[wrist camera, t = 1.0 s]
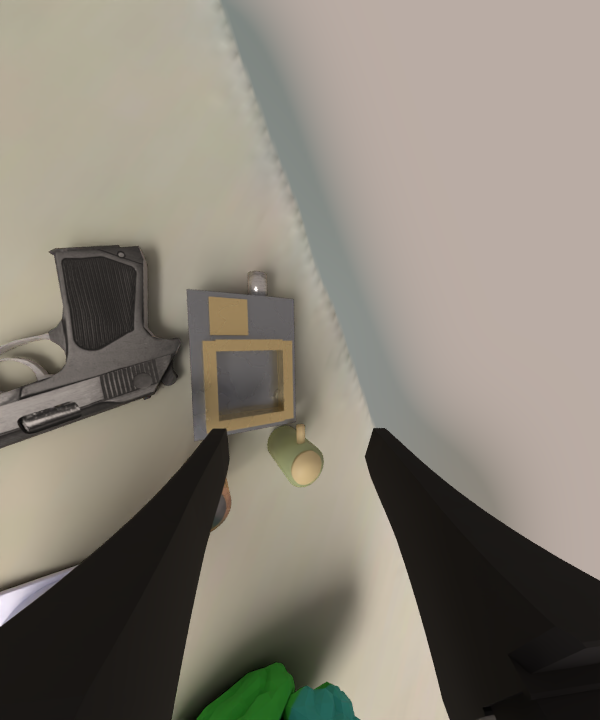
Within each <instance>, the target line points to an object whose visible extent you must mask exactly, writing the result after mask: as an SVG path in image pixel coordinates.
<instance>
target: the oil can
mask: <svg viewBox="0 0 600 720" xmlns="http://www.w3.org/2000/svg"><path fill="white" fill-rule="evenodd" d="M267 446H268V451H269V453H270V454H271V456H272V457H273V459H274V460H275V461H276V463H277V464H278V466H279V467H280V469H281V470H282V471H283V473H284V474H285V476H286V477H287V479H288V480H289V482H290V483H291V484H292V485H294V486H296V487H306V486H308V485H310V484H312V483H313V482H314V481H315V480H316V479H317V478H318V477H319V475H320V473H321V471H322V468H323V463H324V460H323V455H322V453H321V451H320V450H319V449H318V448H317V447H316V446H314V445H313V444H312V443H311V442H310V441H308V440H307V439H306V438H305V425H304V424H297V425H296V430H295V429H294V428H292V427H291V426H281V427H278V428H277V429H275V430H274V431H273V432H272V433H271V435H270V437H269V439H268V444H267Z"/></svg>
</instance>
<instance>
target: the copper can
mask: <svg viewBox="0 0 600 720" xmlns="http://www.w3.org/2000/svg"><path fill="white" fill-rule="evenodd" d="M230 508H231V496H230V492H229V488H228V483H227V479H226V480H225V484H224V488H223V491H222V494H221V498H220V501H219V505H218V508H217V511H216V515H215V518H214V521H213V525H212V528H211V531H213V530H215V529H216V528H217V527H218V526H220V525H221V524H222V523H223V521H224V520H225V519H226V517H227V515H228V514H229V511H230ZM211 531H210V532H211Z"/></svg>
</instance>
